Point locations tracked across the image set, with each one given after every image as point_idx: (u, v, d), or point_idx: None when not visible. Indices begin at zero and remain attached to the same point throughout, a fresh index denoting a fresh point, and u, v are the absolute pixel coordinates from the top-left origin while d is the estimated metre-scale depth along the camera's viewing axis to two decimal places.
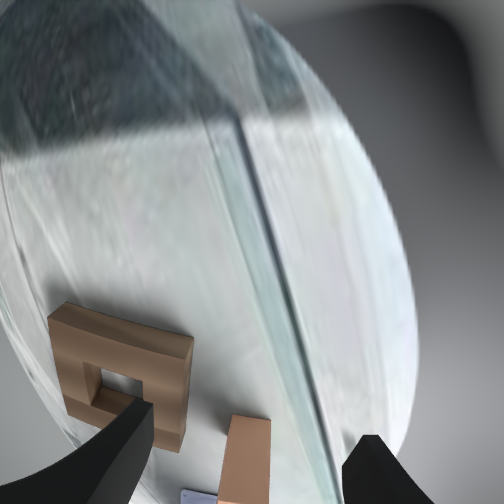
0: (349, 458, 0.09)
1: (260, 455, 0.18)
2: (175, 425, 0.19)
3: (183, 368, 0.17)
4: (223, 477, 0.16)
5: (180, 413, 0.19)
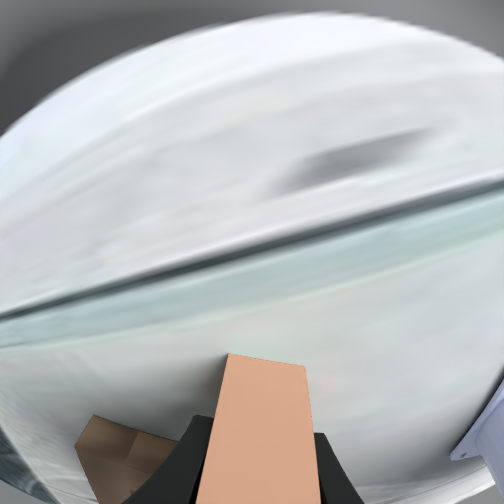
0: None
1: None
2: None
3: (87, 451, 0.11)
4: None
5: None
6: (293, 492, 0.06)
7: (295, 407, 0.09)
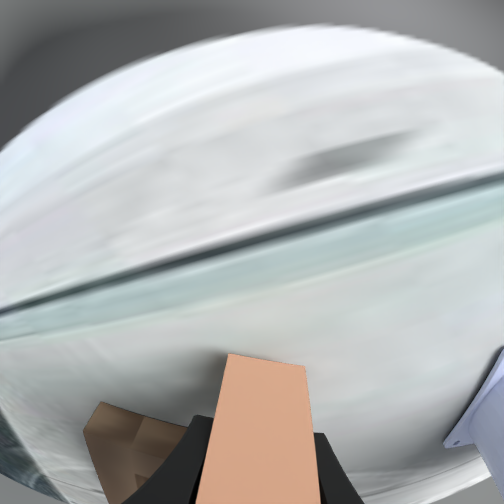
0: None
1: None
2: None
3: (95, 435, 0.12)
4: None
5: None
6: (293, 492, 0.06)
7: (295, 407, 0.09)
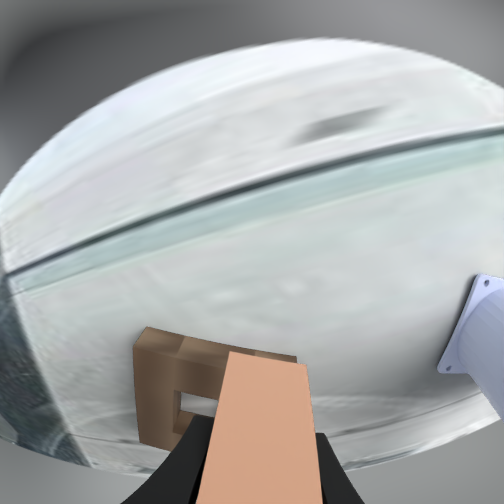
0: None
1: None
2: None
3: (143, 349, 0.17)
4: None
5: (213, 366, 0.17)
6: (295, 490, 0.06)
7: (297, 405, 0.09)
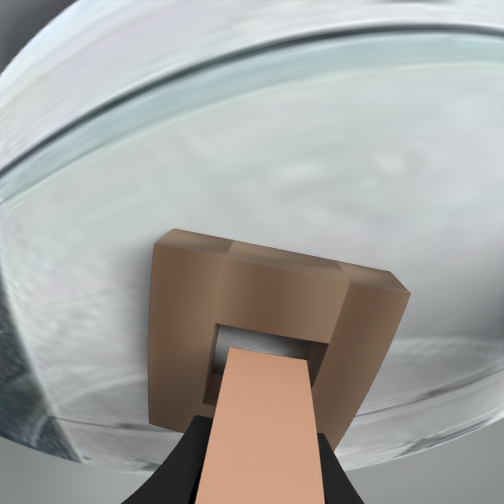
0: None
1: None
2: (322, 286, 0.11)
3: (172, 248, 0.11)
4: None
5: (287, 270, 0.11)
6: (296, 486, 0.06)
7: (297, 400, 0.09)
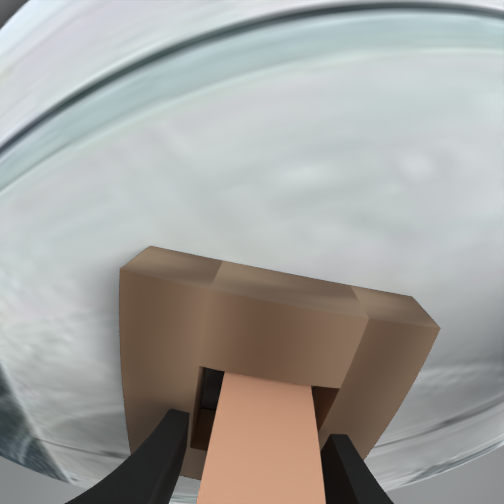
0: None
1: None
2: (334, 324, 0.09)
3: (142, 275, 0.08)
4: None
5: (290, 305, 0.09)
6: (296, 475, 0.06)
7: (297, 393, 0.09)
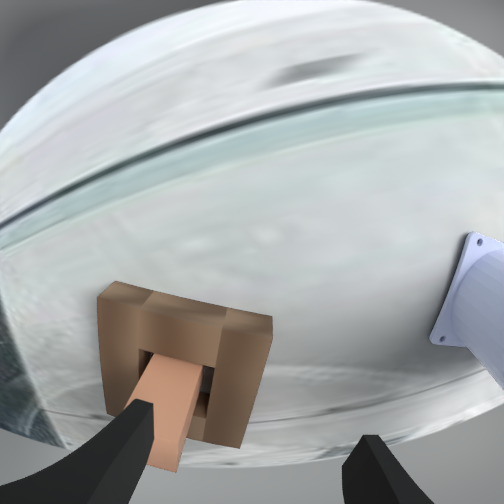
0: (349, 458, 0.09)
1: None
2: (203, 330, 0.16)
3: (107, 300, 0.16)
4: None
5: (178, 318, 0.16)
6: (174, 407, 0.14)
7: (192, 368, 0.17)
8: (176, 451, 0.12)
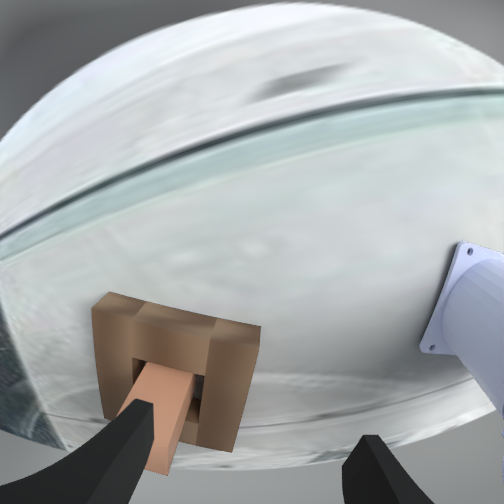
0: (349, 458, 0.09)
1: None
2: (192, 340, 0.16)
3: (101, 311, 0.16)
4: None
5: (168, 329, 0.16)
6: (165, 413, 0.14)
7: (183, 376, 0.17)
8: (166, 455, 0.12)
